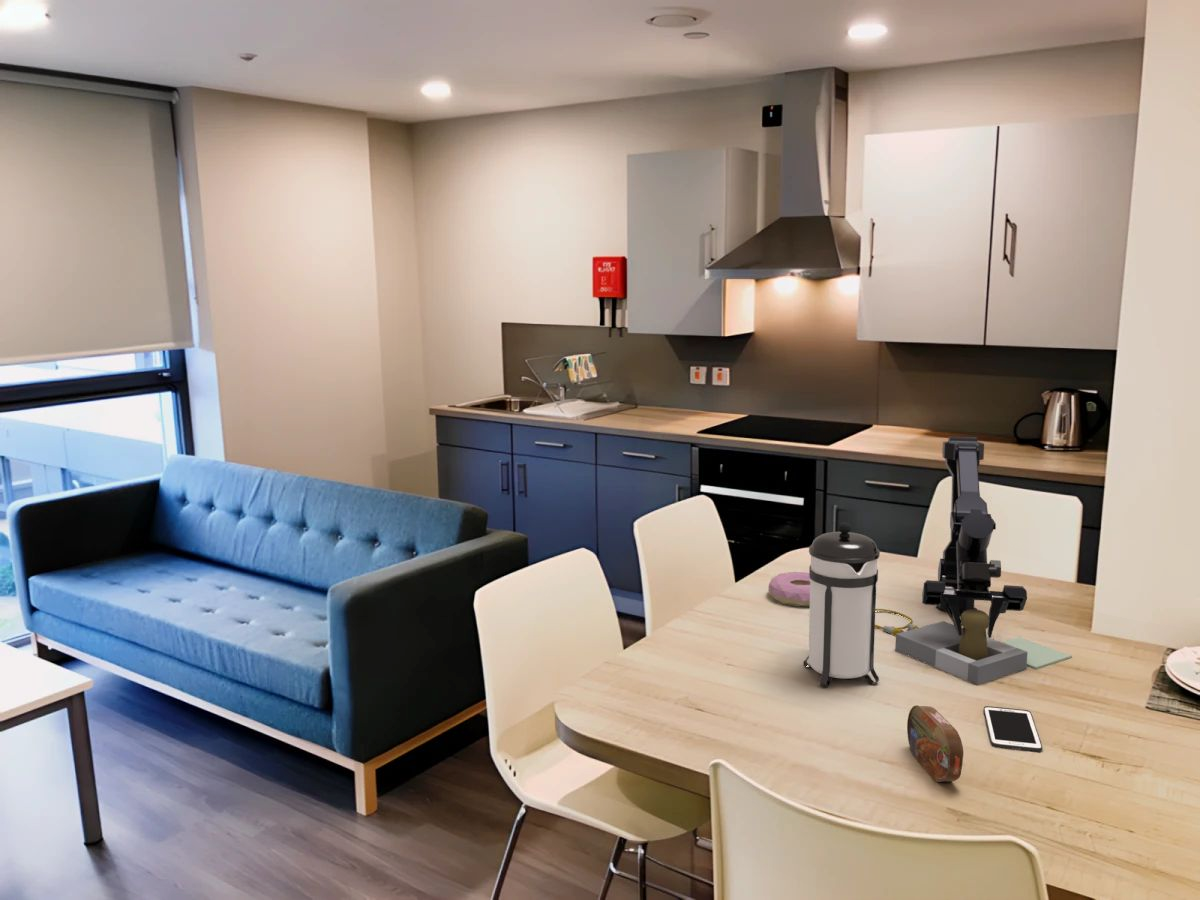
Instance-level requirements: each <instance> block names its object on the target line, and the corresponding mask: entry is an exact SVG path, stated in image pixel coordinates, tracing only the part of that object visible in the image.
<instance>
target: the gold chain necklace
mask: <svg viewBox="0 0 1200 900" xmlns="http://www.w3.org/2000/svg"><path fill="white" fill-rule="evenodd" d="M875 611H877V612H876V613H882V612H888V613H887V614H891V613H894V614H893V615H896V614H899V615H901V616H903V617H902V618H904V617H906V618H908V619H910V620H911V622H910V620H909V622H908V623H907V624H906V625H905V626H900V627H895V626H889V625H884V626H880V625H877V624H875V627H877V628H876V629H879V628H882V629H881V630H882V631H883V632H885V633H887V632H888V633H887V634H889V633H890V634H889V635H891V634H893V635H892V636H894V635H896V634H898V633H901V632H905V631H904V630H903V629H906V628H907V629H908V631H909V630H913V629H916V628H920V627H919V626H918V625H916V624H913V621H914V620H913V619H912V617H909V616H908V615H906V614H903V613H900V612H898V611H895V610H890V609H884V608H875ZM878 611H879V612H878ZM899 615H898V616H899ZM901 616H900V617H901ZM908 619H907V620H908ZM905 627H906V628H905ZM900 628H903V629H900Z"/></svg>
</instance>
